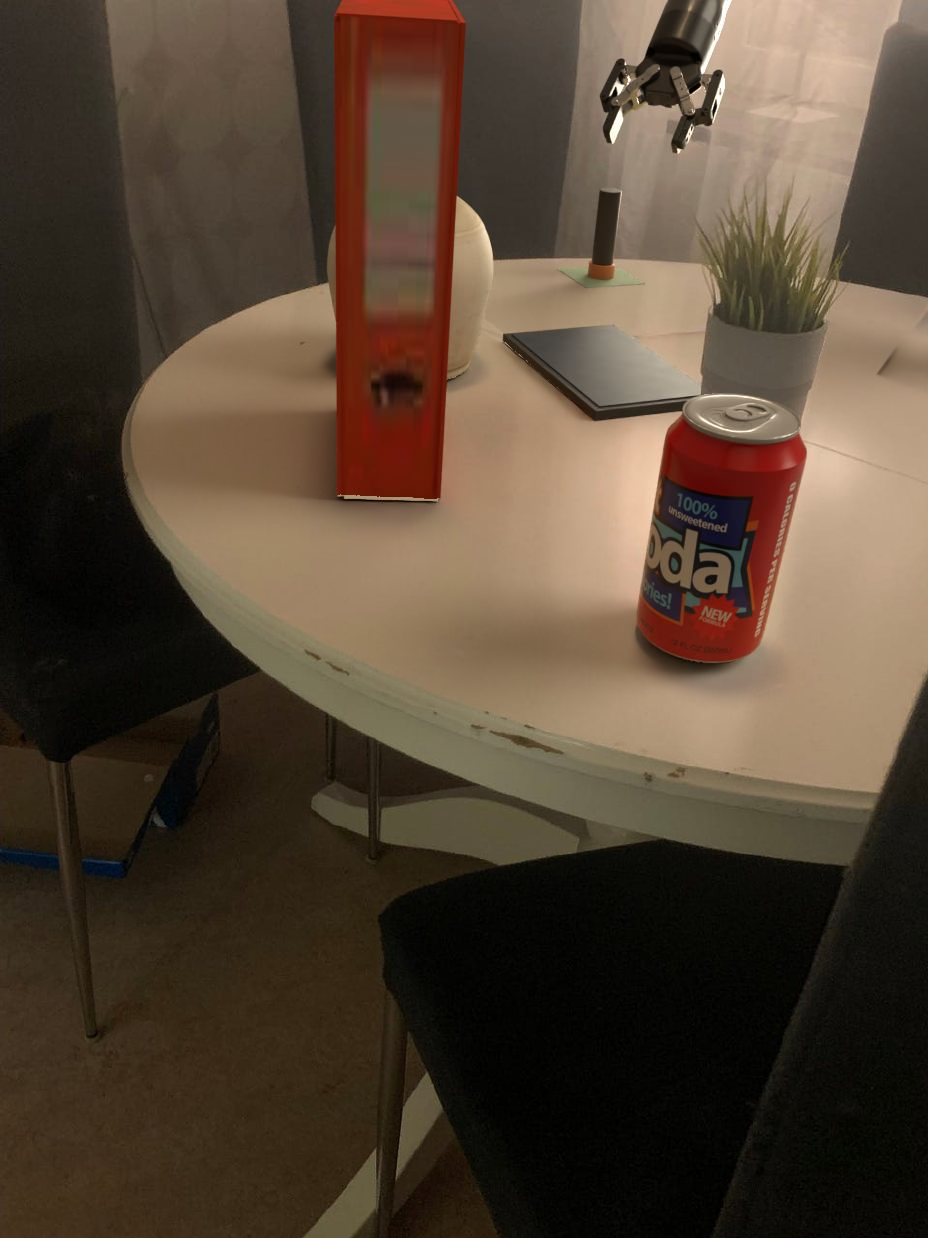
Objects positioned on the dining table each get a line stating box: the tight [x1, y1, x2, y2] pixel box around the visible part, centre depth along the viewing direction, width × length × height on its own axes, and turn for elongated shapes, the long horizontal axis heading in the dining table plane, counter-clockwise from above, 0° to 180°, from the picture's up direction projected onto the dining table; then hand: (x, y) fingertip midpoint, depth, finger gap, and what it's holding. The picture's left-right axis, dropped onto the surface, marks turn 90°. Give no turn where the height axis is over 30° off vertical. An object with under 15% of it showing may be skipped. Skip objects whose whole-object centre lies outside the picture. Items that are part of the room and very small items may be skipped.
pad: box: [557, 265, 646, 289], centre depth 132 cm, size 8×8×1 cm
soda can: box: [636, 392, 808, 664], centre depth 64 cm, size 8×8×15 cm
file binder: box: [333, 0, 467, 499], centre depth 79 cm, size 8×17×32 cm, turn 3°
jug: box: [326, 195, 494, 379], centre depth 99 cm, size 15×16×25 cm
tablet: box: [502, 324, 702, 421], centre depth 106 cm, size 13×21×1 cm, turn 21°
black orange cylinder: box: [587, 187, 623, 280], centre depth 129 cm, size 3×3×10 cm
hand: (641, 143), depth 130 cm, fingers open, 8 cm apart
